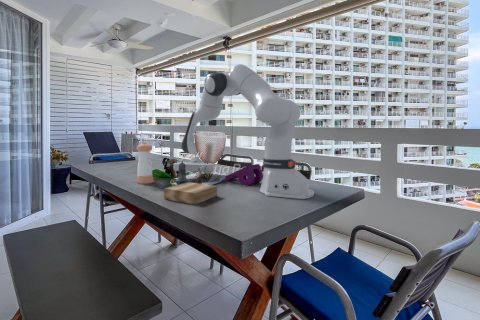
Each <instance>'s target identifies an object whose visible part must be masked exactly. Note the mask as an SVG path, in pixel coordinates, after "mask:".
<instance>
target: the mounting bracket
mask: <svg viewBox="0 0 480 320" xmlns="http://www.w3.org/2000/svg"><path fill="white" fill-rule="evenodd" d="M224 177H225V180H226V182H228V181H232V180H233V181H234V180H236V179H238V182H240V184H241V185H242V186H246V187H247V186H251V185H253V184H259V183H260V182H261V183H262V180H263V169H262V168H261V165H260V163H256V164H250V165H246V166H245V167H243V168H240V169H237V170H236V171H234V172H232V173H229V174H227V175H226V176H224Z"/></svg>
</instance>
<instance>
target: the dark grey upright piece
mask: <svg viewBox="0 0 480 320" xmlns="http://www.w3.org/2000/svg"><path fill="white" fill-rule="evenodd" d="M180 162H181V163H180V164H179V171H177V172H178V178H177V179H175V184H176V185H180V184H184V183H188V182H190V181H189V179H188V178H187V176H186V172H187V171H185V164H184V163H183V162H184V161H180Z"/></svg>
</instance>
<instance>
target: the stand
mask: <svg viewBox="0 0 480 320" xmlns="http://www.w3.org/2000/svg"><path fill="white" fill-rule="evenodd" d="M163 191H164V195H163V196H164V200H167V199H168V200H169V201H174V202H178V203H183V204H185V203H186V204H188V205H197V204H200V203H203V202H205V201H208V200H211V199H213V198H216V197H218V186H217V185H212V184H206V183H205V184H204V183H197V182H191V181H188V183H184V184H180V185H177V184H176V185H173V186H169V187H164V189H163Z"/></svg>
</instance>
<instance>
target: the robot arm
mask: <svg viewBox="0 0 480 320" xmlns="http://www.w3.org/2000/svg"><path fill="white" fill-rule="evenodd" d="M203 83H204V86H203V90H202V93H201V98H200V104H199V105H198V108H195V109H193V111H192V113H191V116H190V118H189V122H188V123H187V127H186V130H185V132H184V133H185V134H184V136H183V139H182V140H181V149H182V151H183V153H185V154H190V155H193V156H195V157H192V158H191V159H189V161H179V162H175V163H173V170H174V171H177V172H178V171H179V164H180V163H181V162H183V163H184V164H185V171H186V172H191V173H192V174H193V175H194V174H195V173H196V172H198V171H206V172H205V173H213V172H214V168H215V167H214V166H215V165H214V162H213V163H208V164H207V163H204V162H203V161H201V160H200V159H199V157H198V155H197V153H196V149H195V143H194V136H195V135H194V134H195V131H196V128H197V125H198V124H199V123H201V122H202V123H203V122H209V121H210V122H211V121H213V120H216V119H217V118H218V117H219V116H220V115H221V113H222V112H221V111H222V107H223V99H224V97H233V96H238V95H241V96H242V97H244V98H245V100H247V101H248V103H250V104H251V106H252V107H253V108H254V114H255V117H256V119H257V120H258V121H259V122H262V123H264V124H265V125H269V126H270V128H269V129H270V130H269V133H268V135H267V136H266V137H265V140H264V154H263V155H264V158H263V161H262V173H263V179H262V180H261V185H260V188H259V192H260V193H262V194H264V196H267V197H277V198H287V199H298V200H306V199H310V198H312V197H314V195H315V191H314V190H312V189H310V185H309V181H308V179H307V177H306V176H305V175H303V174H302V173H301V172H300V171H298V170H297V169H296V165H297V160H294V159H292V143H293V137H294V132H295V128H296V126H297V125H296V124H297V122H298V121H299V119H300V117H301V109H300V106H299V105H298V104H297V103H295V101H293V100H291V99H287V98H282V97H280V96H278V95H277V94H276V93H275V92H274V91H273V89H272V88H271V87H272V86H271V85H270V83H268V82H267V81H266V80H264V78H263V77H261V76H260V75H259V74H258V73H257V72H256V71H254V70H253V69H251V68H250V67H248V66H246V65H245V64H241V63H239V64H235V65H234V66H233V67H232V68H231V70H230V71H229V72H228V71H222V72H212V73H209V74H207V76H206V77H205V79H204V82H203ZM195 175H196V174H195Z"/></svg>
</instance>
